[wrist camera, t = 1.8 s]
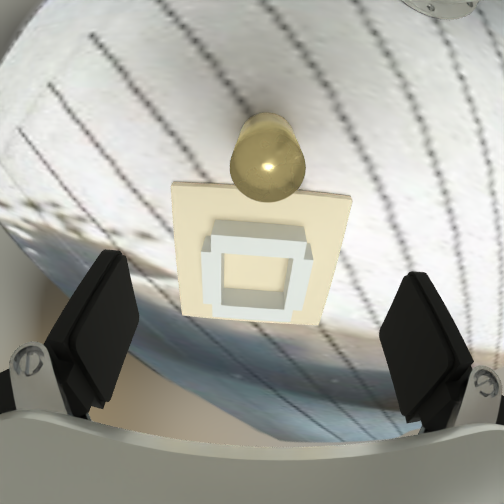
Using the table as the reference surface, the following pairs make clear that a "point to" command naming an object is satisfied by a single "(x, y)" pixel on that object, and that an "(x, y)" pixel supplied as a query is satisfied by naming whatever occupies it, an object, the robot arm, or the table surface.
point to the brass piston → (267, 159)
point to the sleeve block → (256, 252)
